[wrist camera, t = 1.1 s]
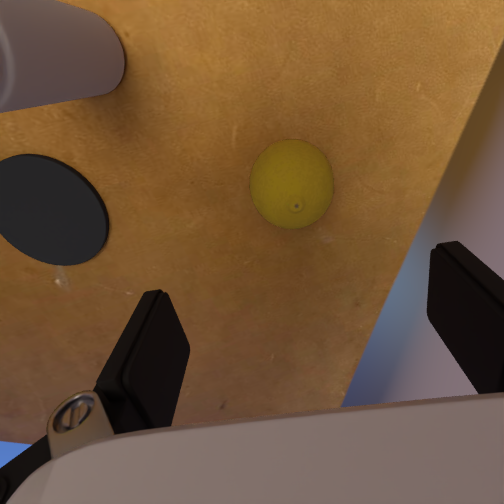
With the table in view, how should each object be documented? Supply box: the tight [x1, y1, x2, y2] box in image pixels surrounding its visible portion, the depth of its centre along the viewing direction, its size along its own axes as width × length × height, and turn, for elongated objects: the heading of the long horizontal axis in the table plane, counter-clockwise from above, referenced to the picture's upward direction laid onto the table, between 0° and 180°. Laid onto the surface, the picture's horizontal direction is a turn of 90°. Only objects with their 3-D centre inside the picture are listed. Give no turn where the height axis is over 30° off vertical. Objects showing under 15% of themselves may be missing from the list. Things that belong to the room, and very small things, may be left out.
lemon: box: [249, 139, 334, 229], centre depth 21 cm, size 6×6×8 cm
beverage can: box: [0, 0, 125, 113], centre depth 16 cm, size 5×5×12 cm
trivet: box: [0, 154, 109, 266], centre depth 27 cm, size 10×10×1 cm
